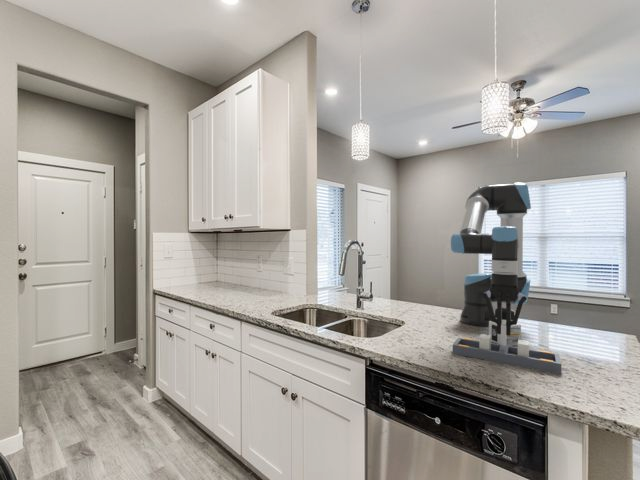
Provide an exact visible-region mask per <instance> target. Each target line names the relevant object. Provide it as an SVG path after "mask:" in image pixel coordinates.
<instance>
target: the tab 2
mask: <svg viewBox="0 0 640 480" xmlns="http://www.w3.org/2000/svg"><path fill="white" fill-rule="evenodd" d="M517 347H518V355H520V356H525V357H529V349H530V341H529V340H525V339H523V340H522V339H521V340H518V345H517Z"/></svg>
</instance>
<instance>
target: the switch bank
mask: <svg viewBox="0 0 640 480" xmlns="http://www.w3.org/2000/svg"><path fill="white" fill-rule="evenodd" d="M452 354H453V355H457V356H458V355H459V356H463V357H469V358H474V359H480V360H485V361H490V362H494V363H500V364H506V365H510V366H516V367H521V368H522V367H523V368H527V369H532V370H538V371H541V372H548V373H551V374H552V373H553V374H558V375H562V361H561V356H560V354H559V353H554V352H551V351H546V350H536V349H530V348H529V357H525V356H520V355H518V346H507V345H506V346H504V345H501V344H497V343H494V342H491V350H485V349H480V348H479V340H474V338H467V337H457V338H456V340H455V341H454V342H453V343H452Z"/></svg>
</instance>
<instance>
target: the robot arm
mask: <svg viewBox="0 0 640 480" xmlns="http://www.w3.org/2000/svg"><path fill="white" fill-rule="evenodd" d="M464 207H465V214H464V217H463V220H462V224H461V227H460V231H459V232H458V233H452V235H451V238H450V250H451V251H452V252H453V253H455V254H463V255H464V254H469V255H470V254H477V255H478V254H479V255H481V254H482V255H491V272H492V273H488V272H486V273H482V272H481V273H473V274H467V275H466V276H465V277H464V284H463V286H464V292H463V293H464V297H463V299H464V301H463V302H464V303H463V308H462V310H461V313H460V315H459V318H460V319H459V321H460V322H461V323H464V324H466V325H471V326H478V327H489V321H492V322H495V323H496V324H497V333H498V334H501V345H504V346H506V344H507V335H509V336H510V334H511V325H516V324H518V321H519V318H520V314H521V310H522V307H523V305H525V304H527V302H528V299H529V293H530V288H531V287H530V286H531V285H530V284H531V279H530V278H527V276H528V275H527V273H525V272H524V270H523V265H524V264H523V258H524V257H523V255H524V254H523V253H524V252H523V251H524V249H523V248H524V247H523V246H524V244H523V243H524V240H523V239H524V237H523V236H524V228H523V227H524V218H525V216H526V215H527V214H528V210H531V208H532V204H531V198H530V191H529V186H528V184H527V183H525V182H513V183H503V184H502V183H501V184H488V185H484V186H482V187H480V188H478V189H476V190H475V191H474V192H472V193H471V194H470V195H469V196H468V198H467V199H466V202H465V206H464ZM489 211H496V215H497V216H498V217H499V218H500V226H494V227H493V228H492V230H491V233H482V230H483V225H484V220H485V216H486V213H487V212H489ZM493 303H496V309H497V318H495V309H494V307H493ZM503 304H505V305H506V306H505V308H506V324H502V308H503ZM512 305H517V306H516V309H515V311H514V312H515V316H514V319H513V320H511V310H512Z"/></svg>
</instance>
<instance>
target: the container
mask: <svg viewBox="0 0 640 480" xmlns="http://www.w3.org/2000/svg"><path fill="white" fill-rule="evenodd" d="M515 312H516V311H515V310H513V309H511V320H513V319H514V316H515ZM494 314H495V318H497V308H495V309H494ZM502 324H506V307H502ZM488 335H491V343H495V344H501V334H498V333H497V324H496V323H495V322H492V321H489V326H488ZM518 340H522V325H521V324H520V323H517V324H516V325H511V334H510V336H509V335H507V344H506V345H507V346H513V347H516V346H518Z"/></svg>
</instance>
